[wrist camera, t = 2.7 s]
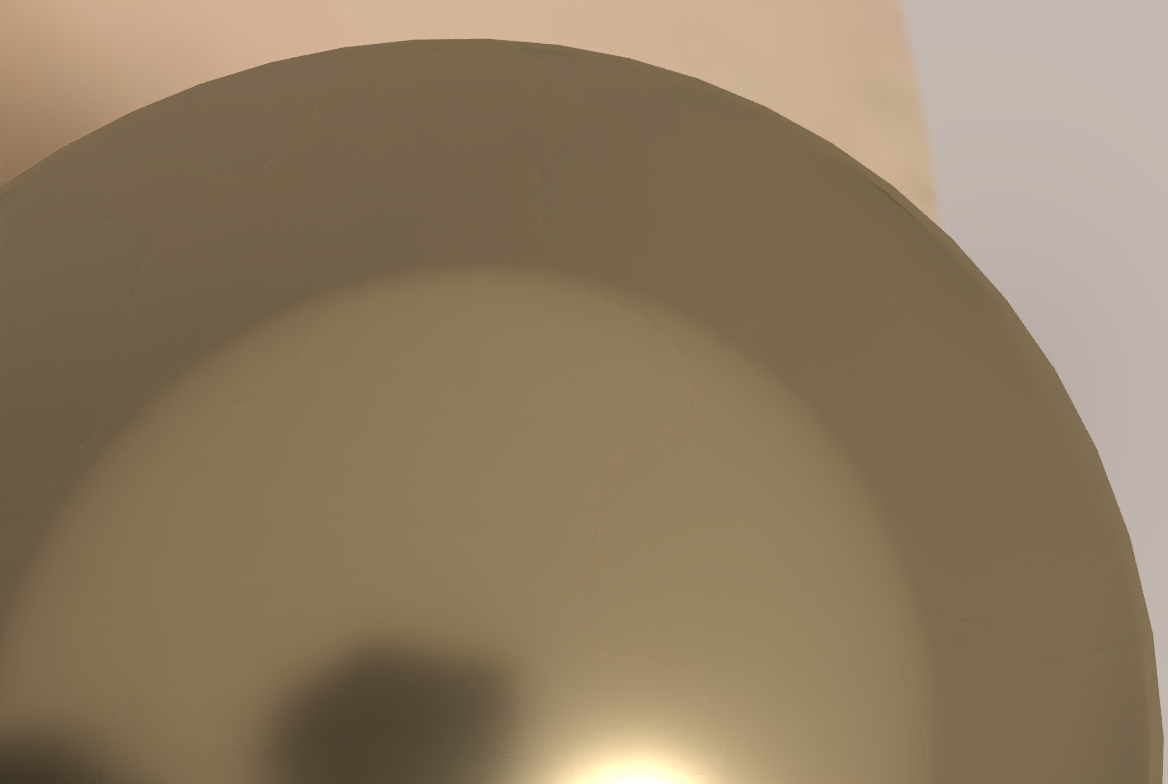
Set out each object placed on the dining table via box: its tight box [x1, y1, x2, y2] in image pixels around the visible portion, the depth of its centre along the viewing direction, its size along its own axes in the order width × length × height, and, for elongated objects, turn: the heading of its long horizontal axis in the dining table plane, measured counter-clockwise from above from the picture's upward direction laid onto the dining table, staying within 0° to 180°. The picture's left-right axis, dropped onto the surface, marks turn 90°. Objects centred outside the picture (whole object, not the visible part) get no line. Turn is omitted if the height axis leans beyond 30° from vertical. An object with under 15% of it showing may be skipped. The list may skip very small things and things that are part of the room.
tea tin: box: [0, 39, 1164, 784], centre depth 10 cm, size 6×6×13 cm
